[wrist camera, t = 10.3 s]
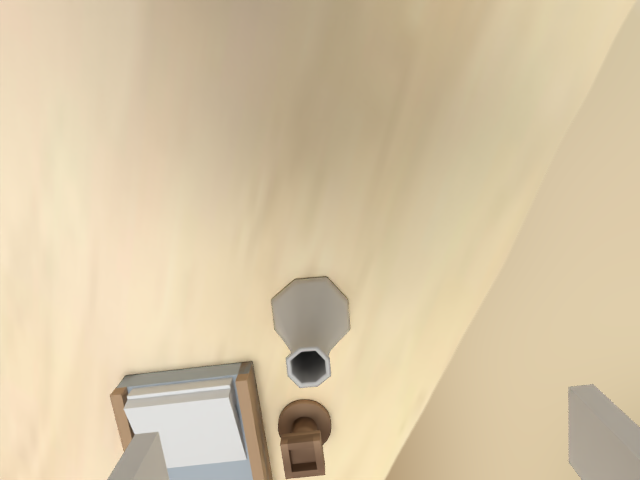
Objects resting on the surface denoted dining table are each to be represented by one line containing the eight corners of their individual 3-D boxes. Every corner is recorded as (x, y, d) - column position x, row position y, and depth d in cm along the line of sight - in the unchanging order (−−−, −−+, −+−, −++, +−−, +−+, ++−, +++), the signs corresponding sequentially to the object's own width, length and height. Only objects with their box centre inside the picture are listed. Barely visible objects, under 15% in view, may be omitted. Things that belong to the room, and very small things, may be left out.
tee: (275, 402, 44) (269, 437, 39) (327, 396, 44) (328, 431, 39) (282, 448, 46) (277, 487, 40) (333, 442, 45) (335, 481, 40)
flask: (362, 332, 43) (375, 392, 33) (290, 361, 44) (282, 427, 34) (332, 263, 41) (336, 303, 32) (258, 293, 42) (239, 342, 32)
